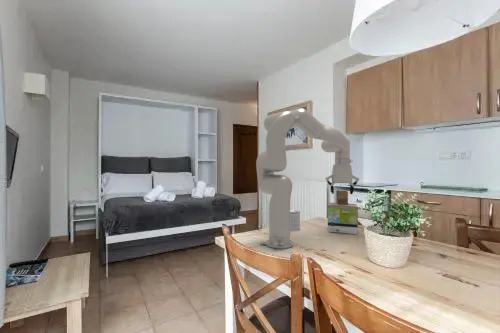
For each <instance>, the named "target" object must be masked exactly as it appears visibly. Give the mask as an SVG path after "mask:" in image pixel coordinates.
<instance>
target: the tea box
mask: <svg viewBox="0 0 500 333" xmlns="http://www.w3.org/2000/svg"><path fill="white" fill-rule="evenodd" d="M358 222H359V206H358V205H357V204H356V203H348V205H338V204H337V203H336V202H328V203H327V233H339V234H340V233H341V234H350V235H358V233H359V232H358V228H359V225H358V224H359V223H358Z"/></svg>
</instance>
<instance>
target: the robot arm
mask: <svg viewBox="0 0 500 333" xmlns="http://www.w3.org/2000/svg"><path fill="white" fill-rule="evenodd" d="M263 126H264V129H265V130H266V131H267V133H266V138H265V148H266V151H263V152H260V153H259V155H258V156H257V158H256V161H255V163H256V164H255V166H256V176H257V184H258V188H259V190H260V191H261V192H262V193H263V194H265V195H266V194H267V195H271V196H270V198H269V202H268V239H266V241H265V245H266V246H267V247H269V248H272V249H277V250H278V249H279V250H281V249H288V248H292V247H293V246H294V244H295V243H294V241H293V240H292V239H291V231H290V208H291V197H292V192H293V182H292V180H291V178H290V177H288V176H287V175H284V174H278V173H280V172H283V171H285V170H286V167H287V164H288V163H287V162H288V160H287V153H286V152H287V151H286V137H287V134H288V133H289V131H290V130H291V129H292V128H298V129H300V130H301V131H302V132H303V133H305V134H306V135H307V136H308V137H310V138H312V139H315V140H318V141H319V140H320V141H322V142H321V145H320V147H321V149H322V150H323V151H324V152H326V153H334V164H333V165H332V170H331V175H329V176H326V177H325V178H324V179H325V181H326V183H327V184H328V185H329V187H330V193H331V194H332V195H333V194H335V187H334V186H335V184H349V185H350V186H349V195H353V194H354V189H355V188H354V187H355V186H356V185H357V184H358V183H359V180H360V178H358V177H357V176H354V175H353V170H352V169H353V168H352V165H351V163H353V159H351V158H350V157H351V156H350V155H351V153H350V152H351V141H350V139H349V138H348V137H346V135H344V134H343V133H342V132H341V131H339V130H338V129H337V128H334V127H332V126H328V125H326V124H323V123H321V122H320V120H318V119H317V118H316V117H315V116H314V115H313V114H311V113H310V112H309V111H308V110H307V109H305V108H303V107H301V108H296V109H291V110H284V111H280V112H276V113H273V114H269V115H268V116H266V117H265V119H264V121H263ZM276 173H277V174H276ZM330 179H331V181H330ZM353 179H354V182H353Z"/></svg>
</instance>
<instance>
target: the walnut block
mask: <svg viewBox="0 0 500 333" xmlns="http://www.w3.org/2000/svg"><path fill="white" fill-rule="evenodd" d="M335 192H336V196H335V197H336V198H335V200H336V201H335V203H337V204H338V205H348V204H349V191H347V190H336V191H335Z"/></svg>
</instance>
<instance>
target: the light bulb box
mask: <svg viewBox="0 0 500 333" xmlns="http://www.w3.org/2000/svg"><path fill="white" fill-rule="evenodd" d="M300 223H301V211H300V210H299V209H295V208H291V207H290V232H294V231H295V232H296V231H300V229H301V227H300V226H301V224H300Z"/></svg>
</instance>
